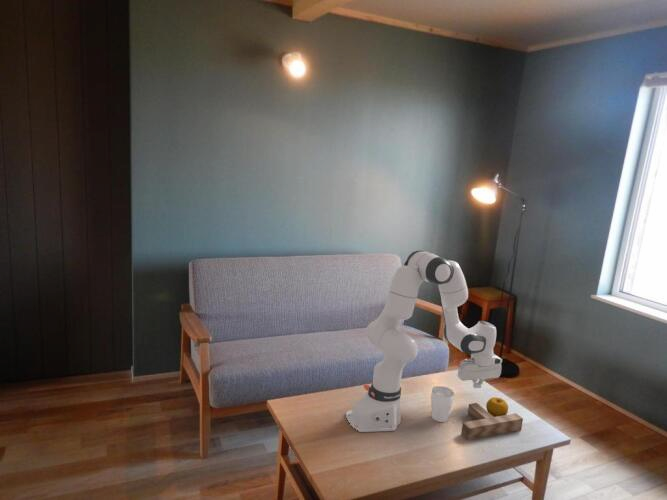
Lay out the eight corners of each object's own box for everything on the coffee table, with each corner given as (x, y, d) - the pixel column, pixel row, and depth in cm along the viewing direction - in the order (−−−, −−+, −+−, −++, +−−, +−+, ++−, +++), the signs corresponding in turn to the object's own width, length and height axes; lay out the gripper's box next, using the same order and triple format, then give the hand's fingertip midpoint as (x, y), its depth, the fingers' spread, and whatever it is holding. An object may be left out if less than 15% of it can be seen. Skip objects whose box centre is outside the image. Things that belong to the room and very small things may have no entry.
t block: (467, 440, 175) (469, 428, 174) (445, 418, 189) (446, 407, 188) (521, 429, 184) (523, 418, 183) (496, 409, 198) (497, 399, 197)
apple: (480, 416, 192) (483, 397, 190) (492, 410, 197) (495, 391, 196) (498, 426, 186) (501, 406, 184) (510, 420, 191) (513, 400, 189)
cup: (424, 413, 191) (427, 387, 189) (442, 410, 195) (445, 384, 193) (437, 425, 183) (440, 398, 181) (455, 422, 187) (458, 395, 185)
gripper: (465, 362, 191) (461, 393, 194) (505, 359, 198) (500, 389, 201) (457, 356, 197) (452, 385, 199) (495, 353, 204) (491, 382, 206)
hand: (476, 387), depth 200 cm, fingers closed
